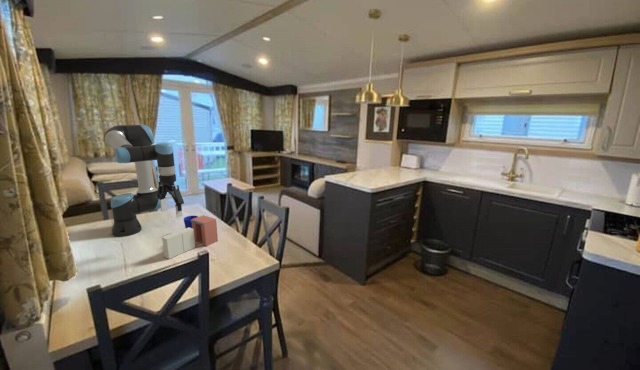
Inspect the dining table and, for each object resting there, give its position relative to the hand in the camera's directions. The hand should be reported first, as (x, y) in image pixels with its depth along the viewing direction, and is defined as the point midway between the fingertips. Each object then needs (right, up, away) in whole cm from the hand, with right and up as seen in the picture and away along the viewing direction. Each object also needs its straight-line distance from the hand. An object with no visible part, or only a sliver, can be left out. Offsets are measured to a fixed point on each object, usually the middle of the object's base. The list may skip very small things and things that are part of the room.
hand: (171, 213), depth 145 cm
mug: (0, -15, +27) cm, 31 cm away
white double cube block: (+3, -21, +3) cm, 21 cm away
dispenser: (+11, -18, +17) cm, 27 cm away
